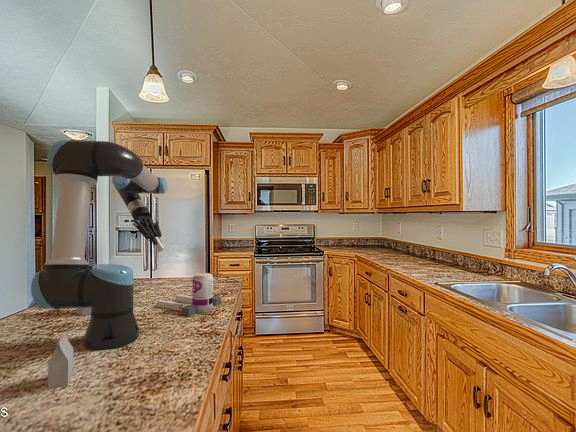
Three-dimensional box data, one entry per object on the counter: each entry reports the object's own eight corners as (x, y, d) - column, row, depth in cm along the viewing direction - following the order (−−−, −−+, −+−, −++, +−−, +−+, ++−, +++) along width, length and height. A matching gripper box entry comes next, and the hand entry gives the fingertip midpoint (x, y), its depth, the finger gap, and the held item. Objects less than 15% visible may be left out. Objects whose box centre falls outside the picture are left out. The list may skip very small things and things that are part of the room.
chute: (188, 316, 120) (189, 308, 120) (149, 309, 129) (149, 301, 129) (221, 303, 138) (221, 297, 138) (184, 297, 147) (184, 291, 147)
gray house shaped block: (73, 372, 77) (73, 332, 77) (67, 385, 70) (68, 342, 71) (55, 375, 75) (55, 334, 75) (47, 389, 69) (48, 345, 69)
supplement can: (199, 314, 122) (199, 277, 122) (188, 310, 128) (188, 274, 128) (216, 310, 128) (216, 274, 128) (205, 306, 134) (206, 271, 134)
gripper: (146, 217, 153) (168, 254, 146) (122, 215, 142) (144, 256, 134) (154, 206, 151) (177, 243, 143) (130, 204, 139) (154, 245, 132)
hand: (161, 249), depth 139 cm, fingers closed
